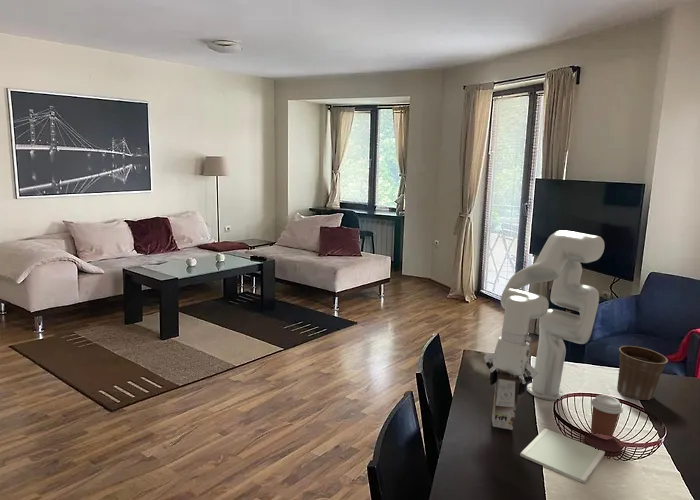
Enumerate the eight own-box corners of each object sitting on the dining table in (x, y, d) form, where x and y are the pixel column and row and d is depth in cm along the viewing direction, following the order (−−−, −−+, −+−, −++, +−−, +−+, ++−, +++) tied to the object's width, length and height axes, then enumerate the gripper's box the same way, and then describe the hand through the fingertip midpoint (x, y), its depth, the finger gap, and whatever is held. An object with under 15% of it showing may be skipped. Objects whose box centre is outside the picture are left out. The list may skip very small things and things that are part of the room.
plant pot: (667, 399, 205) (676, 358, 201) (645, 407, 195) (654, 365, 192) (625, 381, 218) (633, 343, 214) (603, 389, 208) (610, 349, 205)
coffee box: (513, 430, 168) (520, 382, 165) (492, 426, 169) (498, 378, 166) (511, 416, 177) (518, 369, 173) (491, 412, 178) (497, 366, 175)
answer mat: (544, 430, 173) (545, 428, 173) (604, 454, 162) (605, 451, 162) (520, 455, 158) (520, 452, 158) (584, 483, 147) (585, 480, 147)
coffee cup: (618, 445, 168) (625, 409, 166) (586, 437, 171) (593, 402, 169) (615, 431, 177) (622, 397, 174) (585, 424, 180) (591, 390, 177)
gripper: (546, 341, 165) (538, 394, 168) (492, 325, 175) (486, 375, 179) (537, 348, 159) (529, 402, 163) (482, 331, 169) (475, 382, 173)
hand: (506, 388), depth 171 cm, fingers closed on coffee box, 8 cm apart
